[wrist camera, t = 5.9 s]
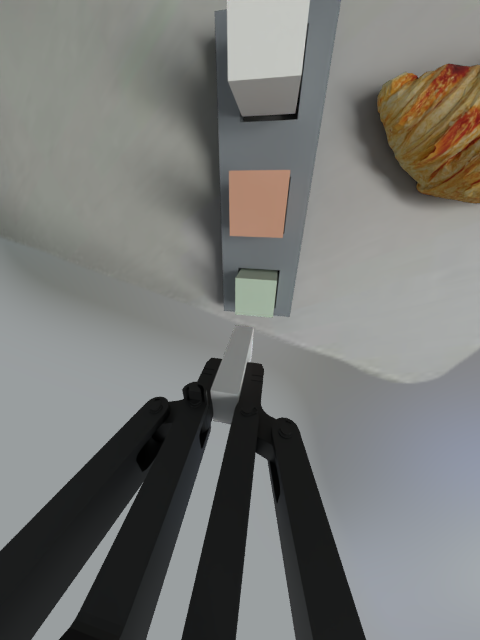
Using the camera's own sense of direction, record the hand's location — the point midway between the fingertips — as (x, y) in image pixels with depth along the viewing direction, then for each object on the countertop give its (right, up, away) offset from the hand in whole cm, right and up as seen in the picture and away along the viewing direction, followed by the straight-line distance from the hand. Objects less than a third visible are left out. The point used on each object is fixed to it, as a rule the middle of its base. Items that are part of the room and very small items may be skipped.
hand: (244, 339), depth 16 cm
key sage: (+3, +7, +13) cm, 15 cm away
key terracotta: (+2, +15, +6) cm, 16 cm away
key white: (+2, +23, +1) cm, 23 cm away
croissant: (+22, +19, +3) cm, 30 cm away
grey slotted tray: (+3, +16, +8) cm, 18 cm away
